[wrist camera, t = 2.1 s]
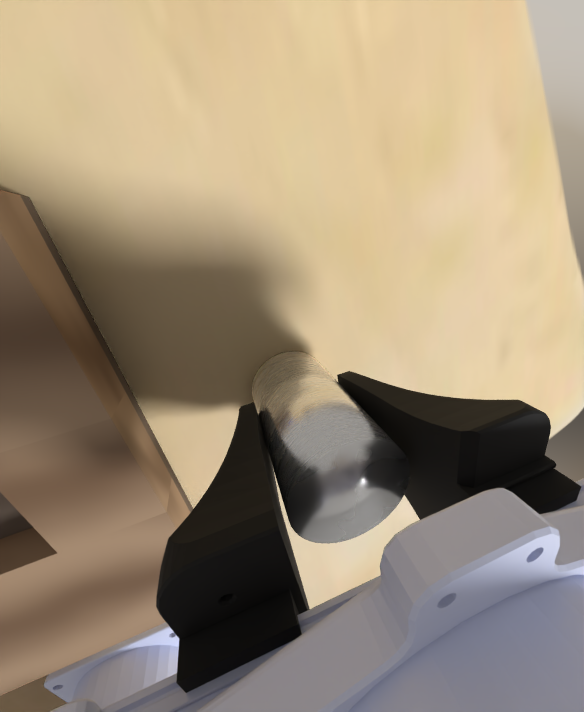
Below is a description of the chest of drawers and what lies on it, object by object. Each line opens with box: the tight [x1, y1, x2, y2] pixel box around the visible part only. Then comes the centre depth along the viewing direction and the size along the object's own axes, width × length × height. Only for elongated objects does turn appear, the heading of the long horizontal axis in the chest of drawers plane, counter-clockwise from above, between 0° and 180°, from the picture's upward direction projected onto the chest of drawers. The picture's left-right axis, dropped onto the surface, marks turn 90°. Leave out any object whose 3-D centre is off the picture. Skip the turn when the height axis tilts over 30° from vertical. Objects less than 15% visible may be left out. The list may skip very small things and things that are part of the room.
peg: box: [252, 351, 410, 543], centre depth 11 cm, size 4×4×7 cm
